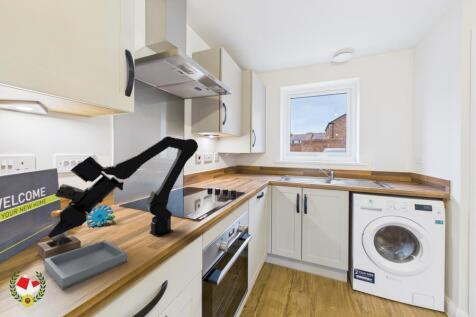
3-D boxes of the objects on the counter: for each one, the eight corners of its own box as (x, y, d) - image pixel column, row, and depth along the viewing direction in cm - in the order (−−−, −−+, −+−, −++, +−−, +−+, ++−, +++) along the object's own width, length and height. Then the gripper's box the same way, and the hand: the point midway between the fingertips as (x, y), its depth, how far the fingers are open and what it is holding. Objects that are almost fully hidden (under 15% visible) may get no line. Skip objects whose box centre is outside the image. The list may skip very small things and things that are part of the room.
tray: (104, 247, 62) (104, 239, 62) (127, 261, 55) (127, 252, 55) (44, 268, 51) (44, 259, 51) (62, 290, 43) (62, 278, 43)
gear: (78, 223, 78) (94, 202, 85) (85, 229, 83) (99, 208, 90) (106, 227, 78) (119, 206, 85) (111, 233, 83) (123, 212, 90)
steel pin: (65, 247, 62) (65, 208, 62) (69, 251, 60) (69, 210, 60) (49, 252, 59) (49, 211, 59) (53, 256, 57) (53, 214, 56)
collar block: (71, 243, 65) (71, 234, 65) (80, 250, 61) (80, 240, 60) (37, 253, 58) (37, 243, 58) (45, 261, 54) (45, 251, 54)
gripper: (80, 172, 69) (37, 207, 63) (70, 178, 53) (11, 226, 47) (107, 192, 73) (69, 227, 68) (105, 203, 58) (55, 249, 52)
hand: (53, 231), depth 58 cm, fingers open, 9 cm apart
